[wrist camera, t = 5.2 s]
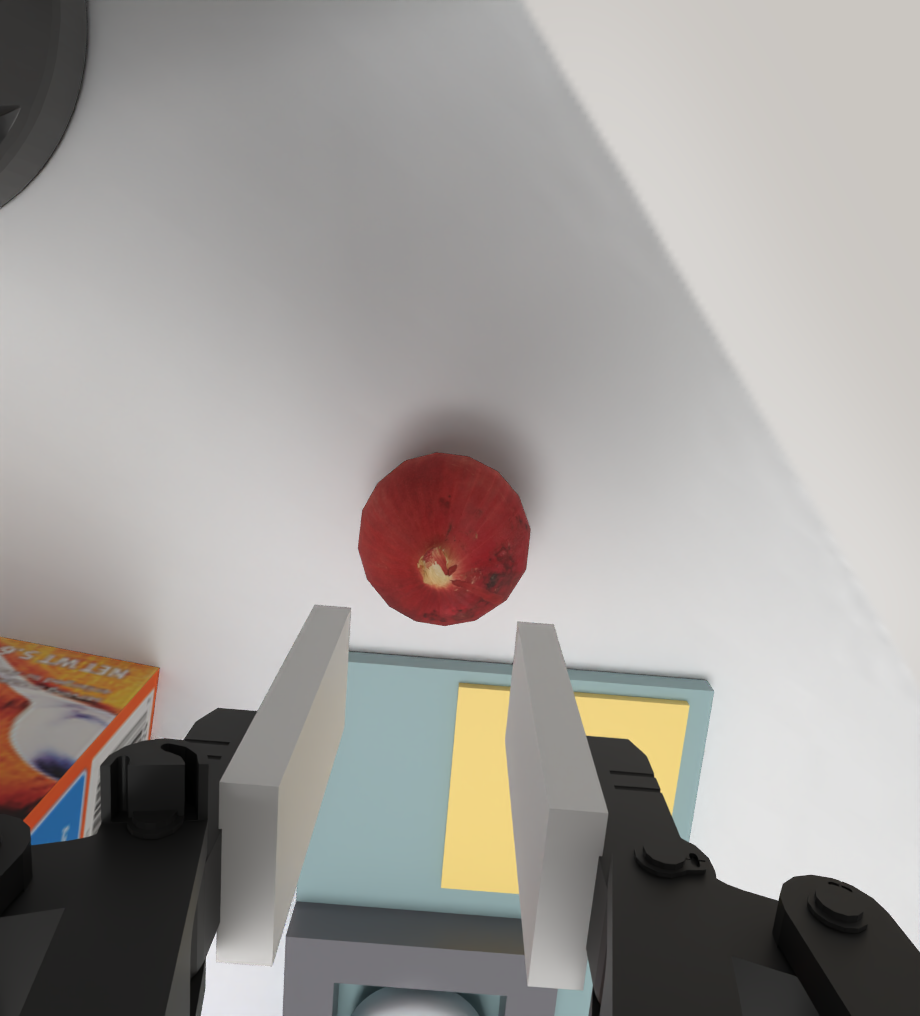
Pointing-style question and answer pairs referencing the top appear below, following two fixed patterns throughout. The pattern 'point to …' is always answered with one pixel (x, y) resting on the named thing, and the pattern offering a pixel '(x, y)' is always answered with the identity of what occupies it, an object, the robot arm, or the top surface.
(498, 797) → the pad
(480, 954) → the dome housing
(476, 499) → the onion
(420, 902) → the board
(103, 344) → the top surface
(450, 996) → the dome
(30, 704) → the cereal box
